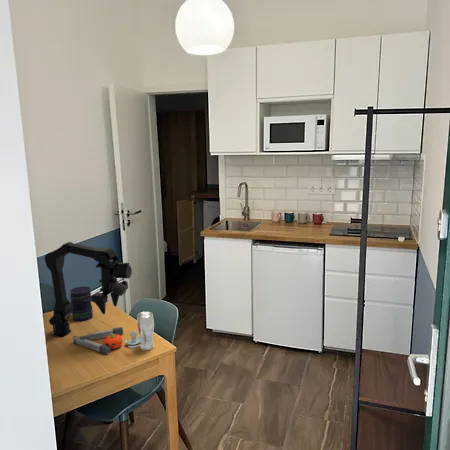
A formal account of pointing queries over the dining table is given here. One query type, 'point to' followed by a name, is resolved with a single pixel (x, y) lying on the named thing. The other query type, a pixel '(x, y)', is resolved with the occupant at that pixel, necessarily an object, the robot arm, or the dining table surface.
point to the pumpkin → (113, 341)
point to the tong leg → (102, 334)
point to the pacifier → (133, 340)
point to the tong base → (92, 345)
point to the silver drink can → (145, 330)
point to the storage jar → (81, 304)
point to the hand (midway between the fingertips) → (109, 310)
